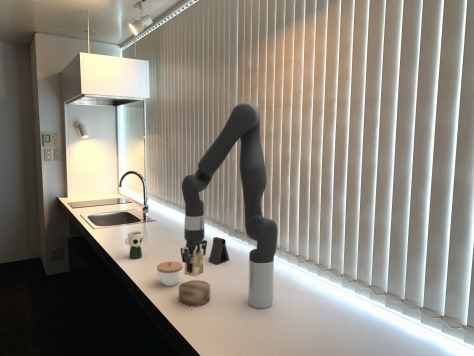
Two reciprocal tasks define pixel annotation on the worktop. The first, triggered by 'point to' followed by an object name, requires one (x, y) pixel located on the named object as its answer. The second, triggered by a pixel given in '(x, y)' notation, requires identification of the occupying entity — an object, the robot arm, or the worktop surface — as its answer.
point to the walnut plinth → (194, 293)
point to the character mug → (135, 243)
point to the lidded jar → (169, 272)
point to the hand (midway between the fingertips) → (194, 269)
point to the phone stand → (218, 251)
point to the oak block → (196, 265)
